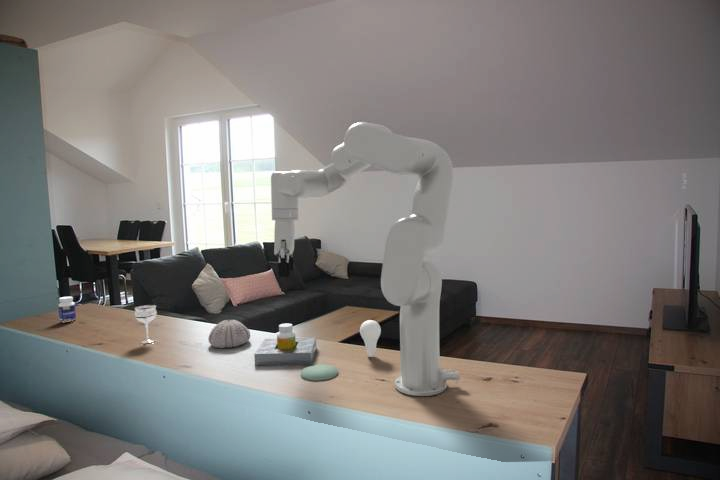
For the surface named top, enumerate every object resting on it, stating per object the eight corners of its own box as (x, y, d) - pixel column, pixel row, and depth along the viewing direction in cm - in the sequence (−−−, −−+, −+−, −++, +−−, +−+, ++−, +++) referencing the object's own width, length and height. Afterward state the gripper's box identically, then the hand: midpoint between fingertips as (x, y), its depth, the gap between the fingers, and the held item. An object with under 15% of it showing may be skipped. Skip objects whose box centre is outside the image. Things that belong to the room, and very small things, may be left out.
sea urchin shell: (199, 348, 154) (198, 323, 153) (228, 336, 166) (226, 313, 166) (232, 353, 149) (231, 327, 148) (259, 340, 161) (258, 316, 160)
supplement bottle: (292, 360, 140) (291, 327, 139) (275, 359, 141) (273, 327, 140) (298, 354, 145) (297, 322, 144) (281, 353, 146) (280, 322, 145)
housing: (316, 348, 150) (315, 337, 150) (311, 364, 136) (310, 352, 136) (265, 349, 150) (264, 338, 150) (254, 365, 136) (254, 353, 136)
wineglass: (159, 343, 160) (156, 308, 159) (137, 346, 158) (134, 310, 156) (158, 338, 167) (155, 304, 165) (136, 341, 164) (134, 306, 162)
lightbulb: (385, 355, 142) (384, 318, 141) (375, 361, 137) (374, 324, 136) (367, 352, 145) (366, 316, 144) (356, 358, 140) (355, 321, 139)
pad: (339, 366, 134) (338, 364, 134) (336, 380, 124) (336, 378, 124) (303, 367, 134) (303, 365, 134) (298, 381, 124) (298, 379, 124)
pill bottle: (64, 324, 189) (62, 299, 188) (56, 322, 192) (54, 298, 191) (79, 320, 194) (77, 296, 193) (71, 319, 197) (69, 295, 196)
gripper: (275, 212, 147) (277, 268, 149) (267, 216, 130) (268, 279, 132) (300, 212, 147) (301, 268, 149) (295, 216, 130) (296, 279, 132)
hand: (286, 273), depth 140 cm, fingers open, 9 cm apart
